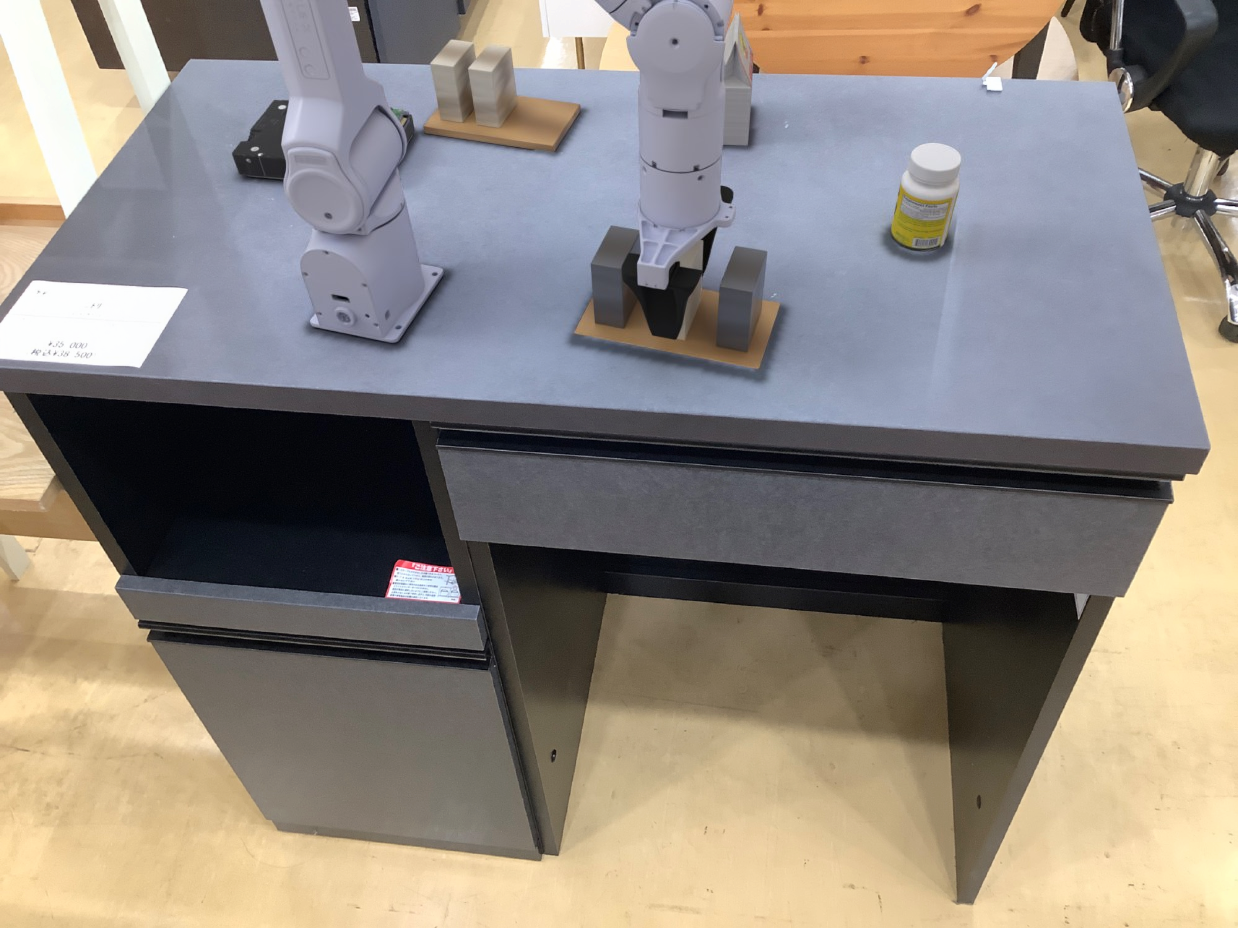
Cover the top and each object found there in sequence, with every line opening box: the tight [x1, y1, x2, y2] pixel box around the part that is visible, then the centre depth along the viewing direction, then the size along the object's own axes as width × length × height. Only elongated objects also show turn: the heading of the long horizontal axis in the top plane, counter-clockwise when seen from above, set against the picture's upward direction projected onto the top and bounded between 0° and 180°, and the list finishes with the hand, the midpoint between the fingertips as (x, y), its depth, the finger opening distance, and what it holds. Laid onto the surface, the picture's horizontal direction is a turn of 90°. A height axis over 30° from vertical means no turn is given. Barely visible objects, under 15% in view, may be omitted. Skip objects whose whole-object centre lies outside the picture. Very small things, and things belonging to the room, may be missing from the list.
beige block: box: [676, 240, 703, 340], centre depth 77 cm, size 5×2×6 cm, turn 162°
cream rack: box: [422, 39, 581, 153], centre depth 98 cm, size 8×14×7 cm, turn 72°
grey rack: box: [573, 224, 781, 370], centre depth 77 cm, size 8×15×7 cm, turn 72°
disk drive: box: [231, 99, 416, 180], centre depth 97 cm, size 10×3×15 cm
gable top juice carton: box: [723, 11, 754, 146], centre depth 95 cm, size 4×7×10 cm, turn 174°
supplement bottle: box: [890, 142, 962, 252], centre depth 82 cm, size 5×5×8 cm
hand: (678, 303), depth 78 cm, fingers open, 7 cm apart
